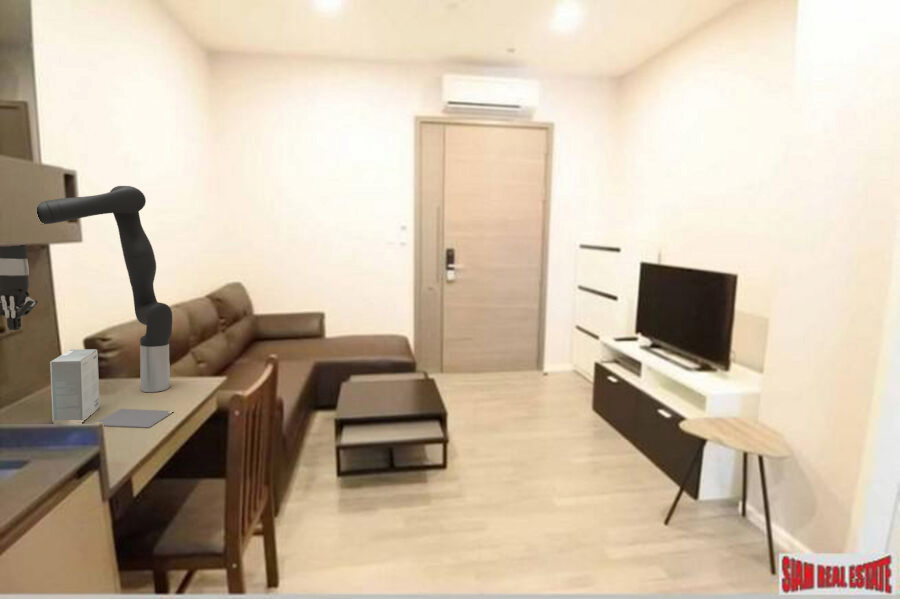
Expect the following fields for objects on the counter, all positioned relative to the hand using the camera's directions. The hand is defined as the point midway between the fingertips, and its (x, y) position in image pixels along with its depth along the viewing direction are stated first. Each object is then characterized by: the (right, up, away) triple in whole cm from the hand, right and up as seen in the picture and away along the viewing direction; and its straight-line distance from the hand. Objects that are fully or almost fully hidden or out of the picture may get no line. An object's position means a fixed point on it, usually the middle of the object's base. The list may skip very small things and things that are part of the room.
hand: (14, 329), depth 143 cm
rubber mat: (+34, -29, +5) cm, 44 cm away
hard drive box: (+16, -28, +4) cm, 32 cm away
